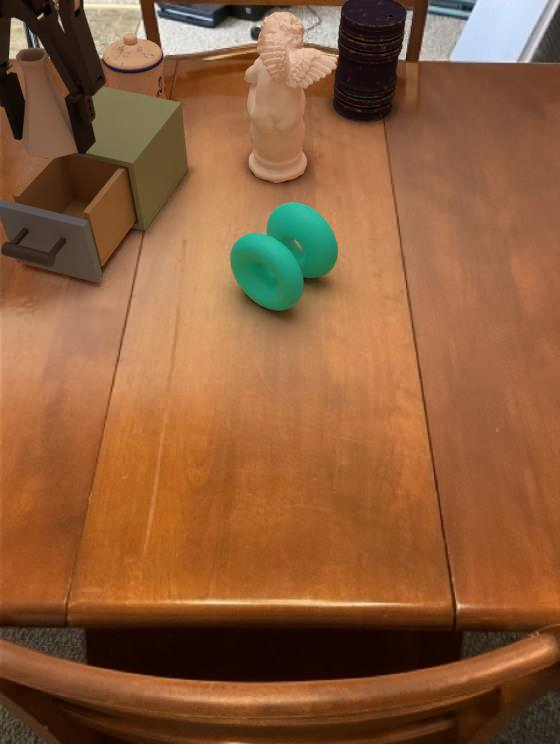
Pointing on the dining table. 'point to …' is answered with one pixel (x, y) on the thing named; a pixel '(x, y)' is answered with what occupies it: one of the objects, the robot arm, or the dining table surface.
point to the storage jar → (368, 58)
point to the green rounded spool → (284, 256)
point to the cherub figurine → (281, 96)
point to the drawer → (69, 216)
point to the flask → (44, 109)
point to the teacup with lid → (135, 66)
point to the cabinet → (141, 145)
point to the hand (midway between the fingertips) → (55, 139)
